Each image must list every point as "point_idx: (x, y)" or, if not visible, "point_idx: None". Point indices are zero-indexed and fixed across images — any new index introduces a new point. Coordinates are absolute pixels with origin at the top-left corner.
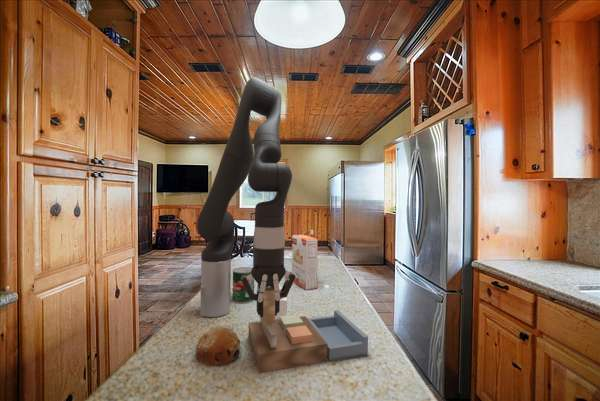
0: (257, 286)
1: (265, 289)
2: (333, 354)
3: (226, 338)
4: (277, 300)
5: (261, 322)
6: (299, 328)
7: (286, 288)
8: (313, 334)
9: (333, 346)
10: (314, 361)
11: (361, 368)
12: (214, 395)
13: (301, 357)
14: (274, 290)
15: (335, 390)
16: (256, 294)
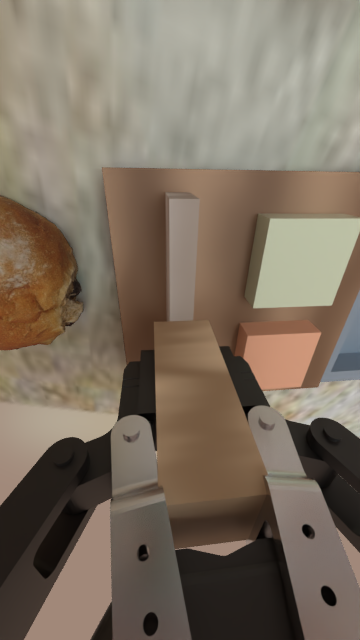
0: (110, 522)
1: (183, 532)
2: None
3: (14, 342)
4: None
5: (166, 231)
6: (288, 347)
7: (347, 530)
8: (318, 341)
9: (329, 376)
10: None
11: (336, 386)
12: (45, 406)
13: None
14: (246, 540)
15: None
16: (107, 484)
